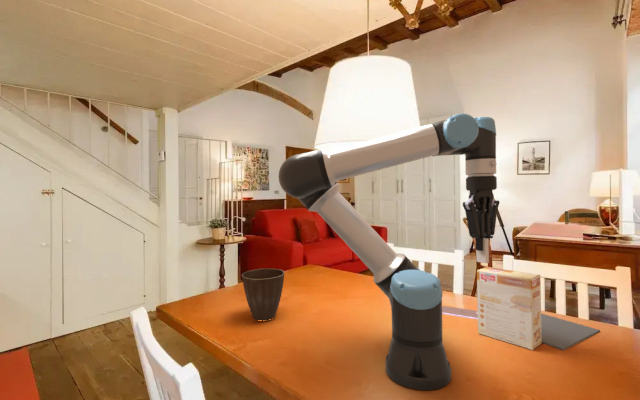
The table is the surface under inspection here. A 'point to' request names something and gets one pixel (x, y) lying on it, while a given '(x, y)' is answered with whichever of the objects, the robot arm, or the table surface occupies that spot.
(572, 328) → the placemat
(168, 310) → the table surface
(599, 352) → the table surface
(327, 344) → the table surface
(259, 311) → the plant pot
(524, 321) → the coffeecake box
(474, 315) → the mobile phone
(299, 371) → the table surface
